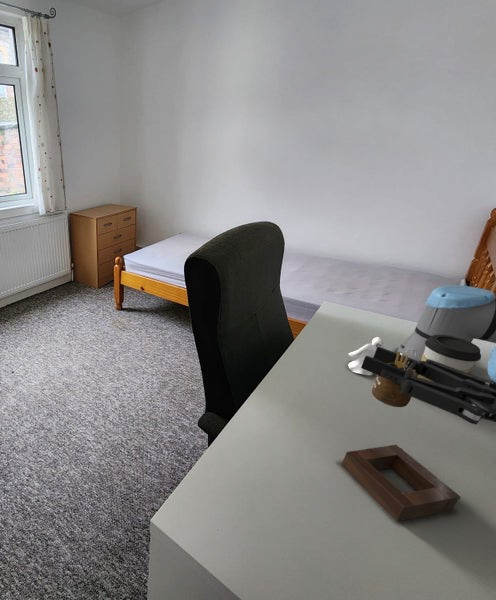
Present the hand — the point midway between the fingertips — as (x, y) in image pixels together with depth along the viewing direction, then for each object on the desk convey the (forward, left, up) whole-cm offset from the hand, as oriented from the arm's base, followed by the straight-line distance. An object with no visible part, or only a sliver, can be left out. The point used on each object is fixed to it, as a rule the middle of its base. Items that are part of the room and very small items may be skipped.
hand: (370, 357), depth 70 cm
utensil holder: (-2, +5, -7) cm, 9 cm away
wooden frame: (+4, +15, -18) cm, 24 cm away
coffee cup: (-31, -6, -18) cm, 37 cm away
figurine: (-22, -18, -18) cm, 34 cm away
